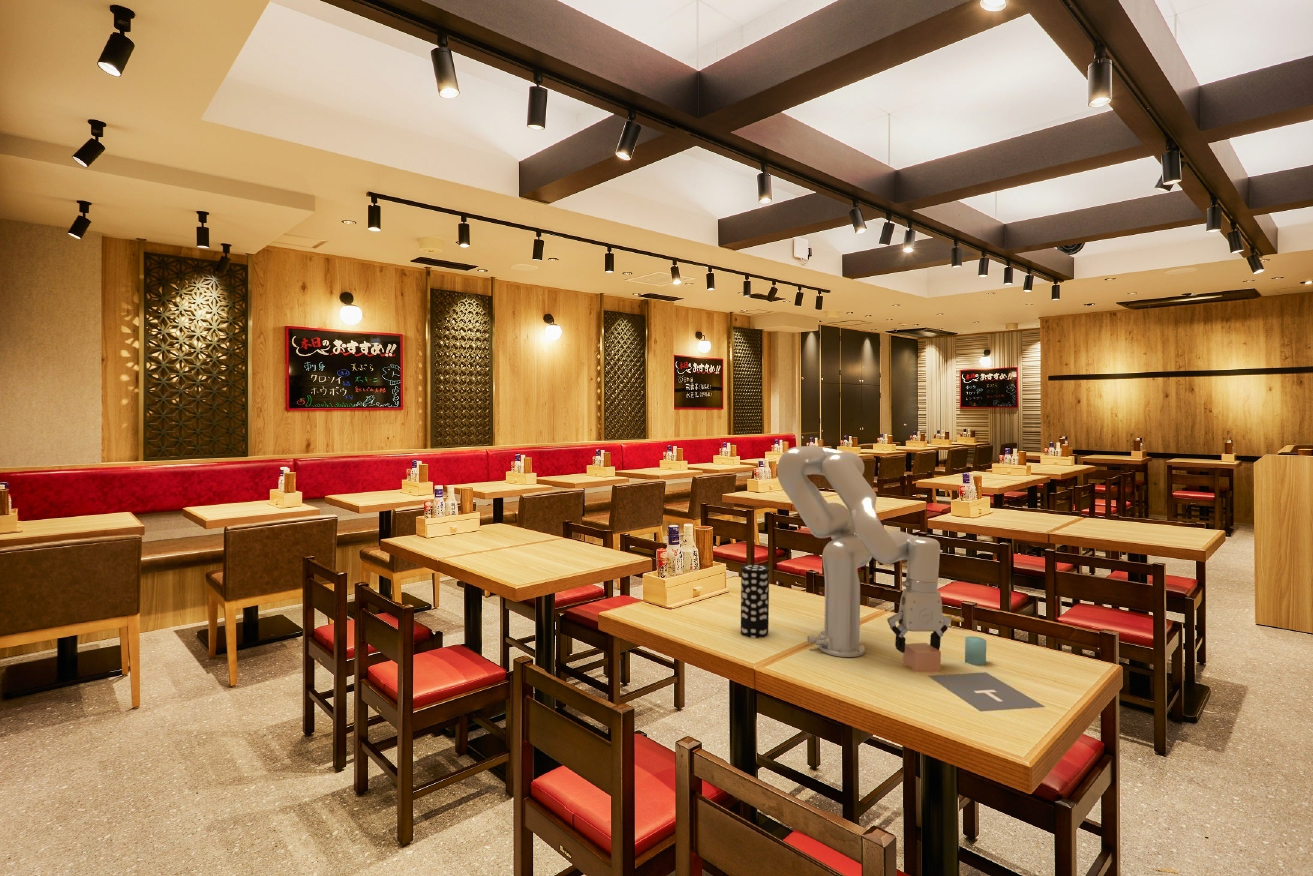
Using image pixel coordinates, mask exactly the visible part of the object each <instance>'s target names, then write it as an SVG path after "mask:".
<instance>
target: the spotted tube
mask: <svg viewBox="0 0 1313 876" xmlns="http://www.w3.org/2000/svg"><path fill="white" fill-rule="evenodd" d="M740 568H741V571H740V574H741V575H740V578H741V581H740V582H741V583H740V589H741V590H740V634H741V635H742V636H744V637H747V638H750V639H751V638H753V639H762V637H763V638H765V636H766V637H768V636H769V626H770V625H769V614H770V613H769V609H770V608H769V607H770V567H769V566H766V565H761V564H744V565H742V566H741V567H740ZM767 635H768V636H767Z"/></svg>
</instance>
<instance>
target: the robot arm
mask: <svg viewBox="0 0 1313 876" xmlns="http://www.w3.org/2000/svg"><path fill="white" fill-rule="evenodd" d="M777 463H778V464H777V468H776V474H777V475H776V476H777V479H778V482H779V484H780V487H781V488H782V489H783V492H784V493H785V495H786V496H787V497H788V498H789V500H790V502H791V503H792V505H793V506H794V508H795V510H796V512H797V513H798V515H799V516H800V518H801V520H802V521H803V522H804V524H805V526H806V527H807V529H808V530H809V532H810V534H811V535H813V536H814V537H815V538H818V539H827V538H831V539H832V540H831V541H828V543H827V544H826V545H825V547H824V548H823V551H822V554H821V555H822V557H821V558H822V567H823V573H824V624H823V625H824V626H823V627H824V628H823V629H824V630H821V631H820V634H818V635H808V636H807V642H808V644H815V645H816V646H818V649H819V650H820V651H821V652H823V653H824V654H827V655H830V656H836V657H840V658H841V657H842V658H857V657H861V656H863V655H865V653H866V646H864V645H863V644H862V643H861V642H860V638H861V637H860V634H861V632H860V631H861V630H860V627H861V625H860V624H861V623H860V622H861V621H860V620H861V619H860V618H861V617H860V616H861V584H860V583H861V582H860V578H859V573H858V568H861V567H864V566H866V565H868V563H870V562H871V560H872V559H874V560H875V561H876V562H878V563H881V564H884V565H890V564H891V565H892V564H895V563H897V562H899V561H905V560H906V561H907V562H906V563H907V564H906V565H907V566H906V577H905V580H903V581H902V582H901V585H902V586H903V587H905V588H903V590H902V594H901V597H900V603H899V608H898V612H897V613H896V614H893V615H891V616H890V617H887V620H886V621H887V623H888V625H889V628H890V630H891V631H892V632H893V633H894V634H895V641H894V645H895V649H896V650H897V651H899V652H900V653H901V654H902V653H904V652H905V644H906V637H905V636H906V634H907V633H908V631H909V632H912V633H913V632H914V633H916V632H919V633H920V632H921V633H922V632H924V633H926V632H931V633H930V638H929V639H930V640H929V642H930V643H929V645H931V646H932V647H934V648H936V649H938V650H939V651H940V648H941V641H942V640H941V638H943V637H944V633H946V632H947V630H948V628H949V626H950V624H951V622H952V620H951V619H950V618H948V617H946V616H944V615H943V614H942V613H943V602H942V596H941V595H942V594H941V592H940V591H938V585H939V570H940V569H939V568H940V554H941V553H940V552H941V544H940V542H939V541H938V540H937V539H935V538H931V537H927V536H916V535H913V534H910V533H907V532H905V531H897V530H896V531H892V532H889V533H888V531H887V529H886V528H885V527H884V525H883V524H882V522H881V520H880V519H879V517H878V514H877V511H876V503H877V493H876V491H875V490H874V489H873V488H872V487H871V485H870V484H869V482H868V481H867V480H866V479H865V477H864V476H863V475H864V473H865V463H864V461H863V459H862V458H861V457H860V456H859V455H857V454H856V453H854V452H851V451H844V450H841V449H839V450H838V449H834V448H828V447H824V446H818V445H808V446H806V445H805V446H803V445H801V446H794V447H790V448H788V449H787V450H785V451H784V452H783V453H782V454H781V456H780V457H779V459H778V461H777ZM808 475H809V476H810V475H820V476H824V477H825V479H826V480H827V481H828V483H829V484H830V485H831V487H832V488H833V490H834V492H835V493H836V494H837V495H838V496H839V498H840V500H841V501H842V503H843V504H844V505H843V504H841V503H838V502H827V500H826V499H825V498H824V496H823V495H822V493H821V491H820V489H819V487H817V486H816V485H815V484H814V483H813V482H812V481H811V480H810V479H809V477H808ZM897 622H898V625H897V624H896V623H897Z"/></svg>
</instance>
